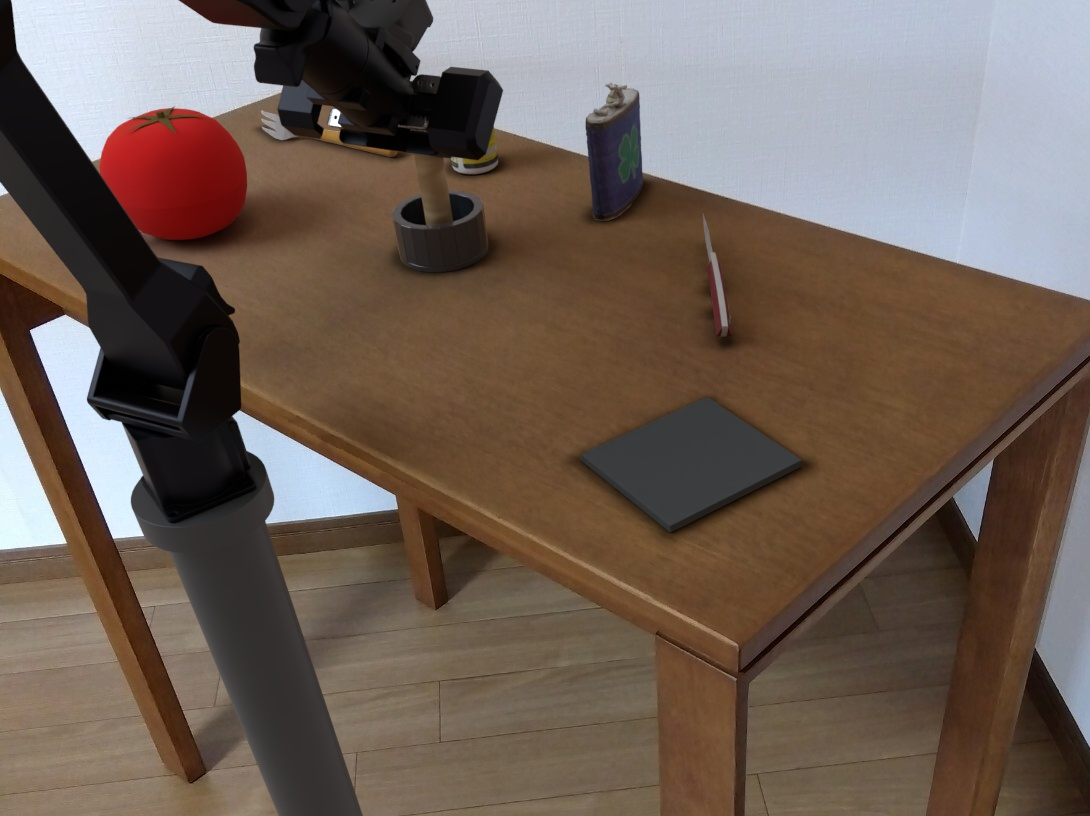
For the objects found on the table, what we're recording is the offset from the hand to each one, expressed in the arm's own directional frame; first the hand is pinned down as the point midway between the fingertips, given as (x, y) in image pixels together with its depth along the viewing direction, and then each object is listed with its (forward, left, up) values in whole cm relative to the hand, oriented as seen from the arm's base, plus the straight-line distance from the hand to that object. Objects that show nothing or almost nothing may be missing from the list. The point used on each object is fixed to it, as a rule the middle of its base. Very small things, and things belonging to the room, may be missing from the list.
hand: (437, 150), depth 98 cm
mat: (-4, -40, -9) cm, 41 cm away
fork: (+2, +31, -9) cm, 33 cm away
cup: (-1, -1, -9) cm, 9 cm away
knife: (+13, -22, -9) cm, 27 cm away
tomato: (-17, +20, -9) cm, 28 cm away
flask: (+17, -3, -9) cm, 19 cm away
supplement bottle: (+11, +14, -9) cm, 20 cm away
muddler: (-1, -1, -8) cm, 8 cm away
